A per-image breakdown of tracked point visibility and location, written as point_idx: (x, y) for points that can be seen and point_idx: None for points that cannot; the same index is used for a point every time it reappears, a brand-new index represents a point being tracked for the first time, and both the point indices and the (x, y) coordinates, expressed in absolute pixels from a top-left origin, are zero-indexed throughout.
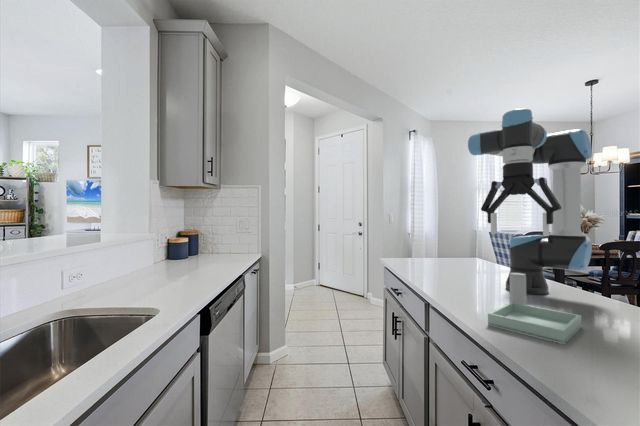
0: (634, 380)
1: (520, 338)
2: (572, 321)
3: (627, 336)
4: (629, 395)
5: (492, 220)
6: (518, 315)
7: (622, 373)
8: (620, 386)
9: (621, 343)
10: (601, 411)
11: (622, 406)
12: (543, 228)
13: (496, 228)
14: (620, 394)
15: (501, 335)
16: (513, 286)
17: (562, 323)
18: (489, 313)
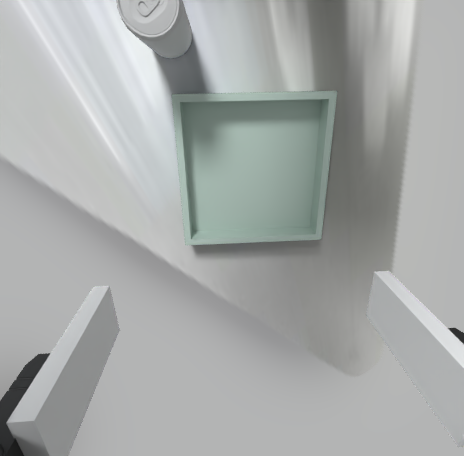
0: None
1: (254, 254)
2: (326, 165)
3: (403, 82)
4: None
5: (81, 409)
6: (207, 134)
7: None
8: None
9: (389, 144)
10: (360, 365)
11: (375, 346)
12: (390, 347)
13: (99, 315)
14: None
15: (227, 265)
16: (154, 47)
17: (296, 118)
18: (187, 242)
